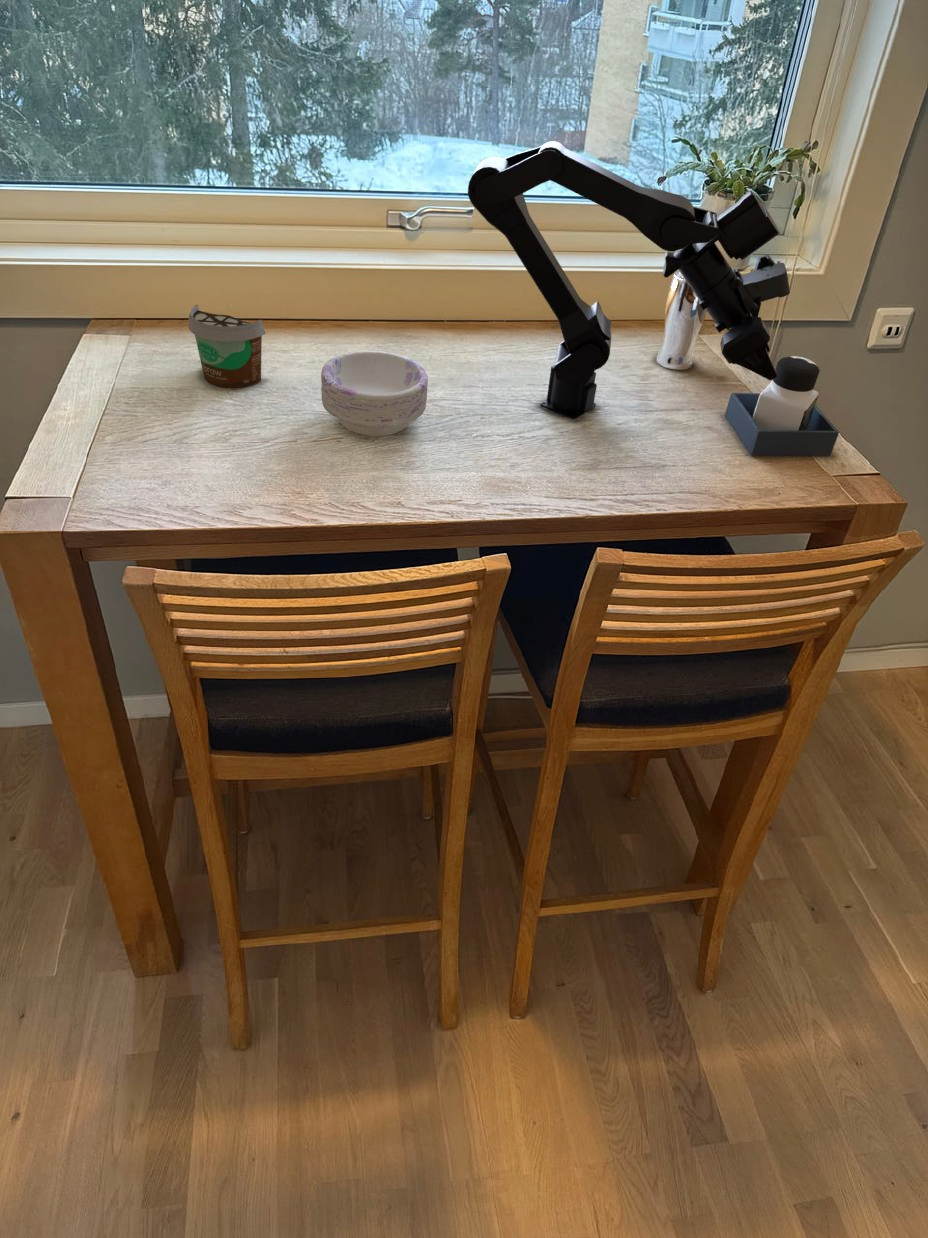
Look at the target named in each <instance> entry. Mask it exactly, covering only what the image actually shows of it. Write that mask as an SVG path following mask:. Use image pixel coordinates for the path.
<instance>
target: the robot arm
mask: <svg viewBox="0 0 928 1238" xmlns="http://www.w3.org/2000/svg"><path fill="white" fill-rule="evenodd" d="M550 181H551V182H553V183H555V184H557V185H559V186H561V187H563V188H565V189H566V190H569V191H571V192H574V193H575V194H576V195H578V196H581V197H582V198H584V199H587V200H589V201H590V202H593V203H595V204H597V205H599V206H601V207H603V208H605V209H606V210H609V211H611V212H612V213H615V214H617V216H620V217H622V218H624V219H625V220H627V221H628V222H630V223H631V225H632V226H633V227H635V228H636V229H637V230H638V231H639V232H640V233H641V234H642V235H643V236H645V237H646V238H647V239H648V240H650V241H651V242H652V243H653V244H655V245H656V246H657V247H658V248H660V249H661V250H663V251H666V252H665V253H664V264H663V268H662V269H663V277H664V278H669V277H670V276H672V275H674V272H676V271H677V270H679V271H680V273H681V274H682V276H683V277H684V278H685V280H686V281H687V283H688V284H689V286H690V287H691V289H692V290H693V291H694V293H695V294H696V296H697V297H698V299H699V304H700V306H701V307H702V309H703V310H705V309H706V310H707V313H708V314H709V316H710V317H711V319H712V320H713V322H714V328H715V330H717V332H718V333H719V334H720V333H721V332H723V331H725V329H726V330H727V332H724V334H722V336H721V340H720V343H719V344H720V351H721V354H722V356H723V357H724V359H725V360H726V362H727V363H728V364H732V365H737V366H739V367H742V368H744V369H746V370H749V371H750V372H752V373H754V374H756V375H759V376H760V377H762V378H764V379H766V380H768V381H772V380H773V379H774V378H776V377H777V374H776V372H775V369H776V368H775V367H774V365H773V362H772V360H771V357H770V354H769V352H770V351H771V348H770V346H769V342H770V340H771V335H770V331H769V329H768V327H767V324H766V323H765V322H764V319H762V317H760V316H759V315H760V310H761V306H762V303H763V302H766V301H770V300H772V299H776V298H780V299H781V298H784V297H787V296H789V295H790V294H791V288H790V282H789V276H788V270H787V268H786V264H785V263H784V262H781V260H778V261H776V262H775V261H774V259H772V257H771V256H770V254H765V255H762V256H759V257H757V259H756V263H755V266H754V269H753V268H751V269H750V271H749V272H747V273H744V274H741V272H740V271H739V269H738V268H736V269H735V267H734V266H733V267H732V266H731V264H730V263H729V262H728V261H727V259H726V257H725V256H724V254H723V253H722V251H721V250H720V248H719V246H717V244H716V243H717V242H718V243H719V244H720V246H721V248H722V249H723V251H724V252H725V254H726V255H727V256H728V258H729V259H735V260H736V261H737V260H739V259H740V260H741V261H743V260H745V259H746V258H748V257H750V255H752V254H753V253H755V252H756V251H758V250H759V249H760V248H761V247H763V246H764V245H766V244H767V243H769V242H770V241H772V240H773V239H774V238H776V237H777V236H779V235H780V234H781V233H780V231H779V228H778V226H777V224H776V223H775V220H774V219H773V216H771V214H770V212H769V211H768V208H767V207H766V206H765V205H763V204H762V203H761V202H760V200H759V199H758V197H757V196H756V195H755V193H754V191H753V190H748V191H747V192H745V194H743V195H742V196H741V197H740V199H739V200H738V201H736V202H735V203H733V204H732V205H731V206H730V207H728V208H727V209H725V210H724V211H723V212H722V213H720V214H719V215H718V213H717V212H716V211H711V210H709V209H704V208H700V207H697V206H694V205H693V203H692V202H691V201H690V200H689V199H688V198H687V197H686V196H683V195H680V194H677V193H674V192H670V191H666V190H662V189H657V188H649V187H645V186H642V185H639V184H637V183H635V182H632V181H631V180H628V179H626V178H624V177H622V176H620V175H618V174H617V173H614V172H612V170H611V171H610V170H609V169H607V168H605V167H603V166H601V165H600V164H598V163H595V162H593V161H591V160H590V159H588V158H585V157H584V156H581V155H580V154H578V153H576V152H574V151H572V150H570V149H568V148H566V147H565V146H564V145H563V144H562V143H560V142H559V141H555V140H552V141H547V142H545V143H544V144H542V145H540V146H538V147H534V148H532V149H527V150H525V151H521V152H517V153H514V154H513V155H510V156H507V157H505V158H504V157H499V156H490V157H489V156H488V157H486V158H484V159H483V160H482V161H481V162H480V163H479V164H478V165H477V167H476V168H475V170H474V172H473V173H472V175H471V176H470V179H469V181H468V187H467V197H468V199H469V201H470V203H471V205H472V206H473V207H474V208H475V209H476V210H477V212H478V213H479V214H480V215H481V216H482V218H484V219H485V221H486V222H487V223H488V224H490V225H491V226H492V227H493V228H495V229H496V230H498V232H499V233H501V234H502V235H504V237H505V238H506V240H507V241H508V243H509V245H510V246H511V247H512V249H513V251H514V252H515V254H516V255H517V257H518V258H519V260H520V262H521V263H522V265H523V267H524V268H525V270H526V271H527V273H528V274H529V276H530V277H531V279H532V281H533V283H534V284H535V285H536V287H537V289H538V290H539V292H540V293H541V295H542V297H543V298H544V300H545V301H546V303H547V304H548V306H549V308H550V309H551V311H552V312H553V314H554V316H555V317H556V318H557V321H558V324H559V327H560V331H561V334H562V337H563V340H562V341H561V342H560V343H558V345H557V351H556V356H555V361H554V364H553V365H551V367H550V373H549V380H548V388H547V395H546V399H545V400H543V401H542V402H540V407H541V408H543V409H545V410H548V411H550V412H553V413H556V414H558V415H561V416H563V417H566V418H568V419H570V420H578V418H581V417H582V416H583V415H586V414H587V413H589V412H590V411H592V410H593V409H595V408H596V403H595V398H596V393H597V388H598V385H597V383H596V377H597V372H595V371H596V370H599V369H601V368H602V367H603V366H605V365H606V363H607V362H608V361H609V359H610V355H611V346H612V320H611V319H609V318H608V317H607V316H606V315H605V313H604V311H603V308H602V305H601V304H600V301H599V300H597V301H596V302H594V303H593V304H592V305H590V304H588V303H587V302H585V301H584V300H583V299H582V298H581V297H580V295H579V294H578V291H577V290H576V288H575V287H574V285H573V284H572V282H571V281H570V279H569V277H568V276H567V274H566V272H565V271H564V269H563V267H562V266H561V264H560V263H559V261H558V259H557V257H556V256H555V254H554V253H553V251H552V249H551V247H550V246H549V244H548V243H547V241H546V240H545V238H544V236H543V235H542V233H541V231H540V229H539V228H538V226H537V225H536V223H535V221H534V220H533V218H532V216H531V215H530V212H529V209H528V205H527V201H526V199H525V195H524V194H525V193H526V192H529V191H530V190H532V189H534V188H536V187H538V186H540V185H543V184H545V183H547V182H550Z"/></svg>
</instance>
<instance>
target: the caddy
mask: <svg viewBox="0 0 928 1238" xmlns="http://www.w3.org/2000/svg"><path fill="white" fill-rule="evenodd" d="M761 393H762V392H730V396H729V399H728V403H727V406H726V409H725V413H724V417H725V419H726V420H727V421H728V423H729V424H730V426H731V428H732V430H733V431H734V432H735V434H736V435H737V436H738V438H739V439H740V441H741V442H742V444H743V446H744V447H745V449H746V450H747V451H748V453H749V454H750V456H762V457H765V456H766V457H769V456H770V457H831V455H832V453H833V450H834V447H835V445H836V442H837V439H838V437H839V434H840V432H839V430H838V429H837V428H836V426H834V425H833V423H832V422H831V421H830V420H829V419H828V418H827V416H826V415H825V414H824V412H822V411H821V409H820V408H819V407H818V406H817V404H815V406H814V409H813V412H812V415H811V418H810V421H809V423H808V426H807V429H806V431H801V430H760V428H759V427H758V425H757V424H756V423H755V421H754V420H753V415H754V412H755V408H756V405H757V402H758V399H759V395H760V394H761Z"/></svg>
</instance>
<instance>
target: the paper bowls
mask: <svg viewBox="0 0 928 1238" xmlns="http://www.w3.org/2000/svg"><path fill="white" fill-rule="evenodd" d="M320 378H321V379H320V382H321V389H320V390H321V402H322V406H323V408H324V410H326V412H327V413H328V414H330V416H332V417H334V418H336V419H337V420H338V421H339V423H340V424H341V425H342V426H343V427H344V428H346V429H347V430H348V431H350V432H353V433H355V434H358V435H362V436H368V437H386V436H391V435H394V434H397V433H399V432H401V431H403V430H405V428H407V426H408V425H409V424H410V423H412V422H415V421H417V419H419V418H420V417H421V416H422V415H423V414H424V413H425V411H426V409H427V408H426V407H427V402H428V401H427V400H428V387H429V386H428V385H429V375H428V373H427V371H426V369H425V368H424V367H423V366H422V365H421V364H420V363H418V362H416V361H414V360H413V359H411V358H409V357H406V356H403V355H401V354H398V353H392V352H387V351H377V350H359V351H351V352H346V353H342V354H339V355H336V356H333V357H332V358H330V359H329V360H328V361H327V362H325V364H324V365H323V366H322V368H321V373H320Z"/></svg>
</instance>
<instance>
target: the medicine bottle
mask: <svg viewBox="0 0 928 1238" xmlns="http://www.w3.org/2000/svg"><path fill="white" fill-rule="evenodd" d="M774 369H775V372H776V374H777V377H776V378H774V379H773V380H771V382H769V384H768V385H767V386H766V387H765V388H764V389H763V390H762V392H760V393H761V394H760V395H759V399H758V402H757V405H756V408H755V412H754V415H753V420H754V421H755V423H756V424H757V425H758V427H759V428H760V430H801V431H807V430H806V429H807V426H808V423H809V421H810V418H811V415H812V412H813V409H814V406H815V405H817V404H816V403H817V400H818V398H819V395H820V393H819V391H817V390H814V389H815V386H816V383H817V381H818V377H819V375H820V371H821V369H820V367H819V365H818V364H817V363H815V362H814V361H812V360H811V359H809V358H806V357H802V356H796V355H791V356H784V357H782V358H780V359H779V360H778V361H777V362H776V367H775V368H774Z"/></svg>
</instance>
